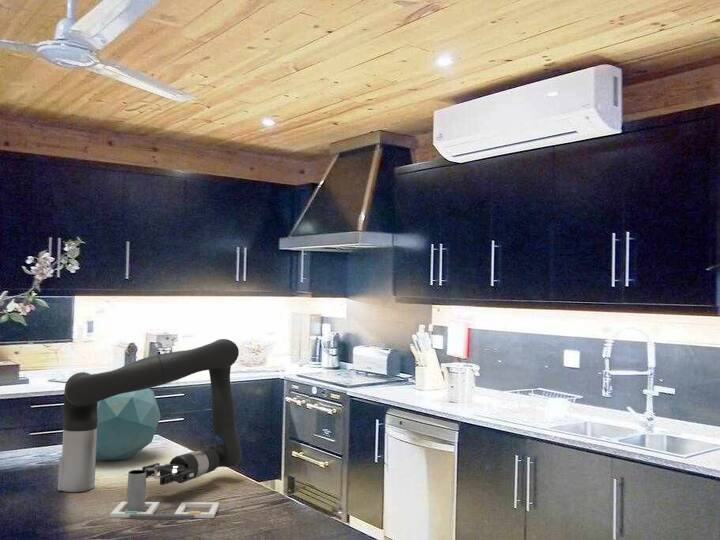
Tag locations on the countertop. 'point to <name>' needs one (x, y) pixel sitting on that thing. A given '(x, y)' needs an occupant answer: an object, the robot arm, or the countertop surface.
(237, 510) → the countertop surface
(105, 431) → the sculpture
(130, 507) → the planter
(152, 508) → the socket
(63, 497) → the countertop surface
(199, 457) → the robot arm
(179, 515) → the thin gray bar
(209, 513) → the socket
